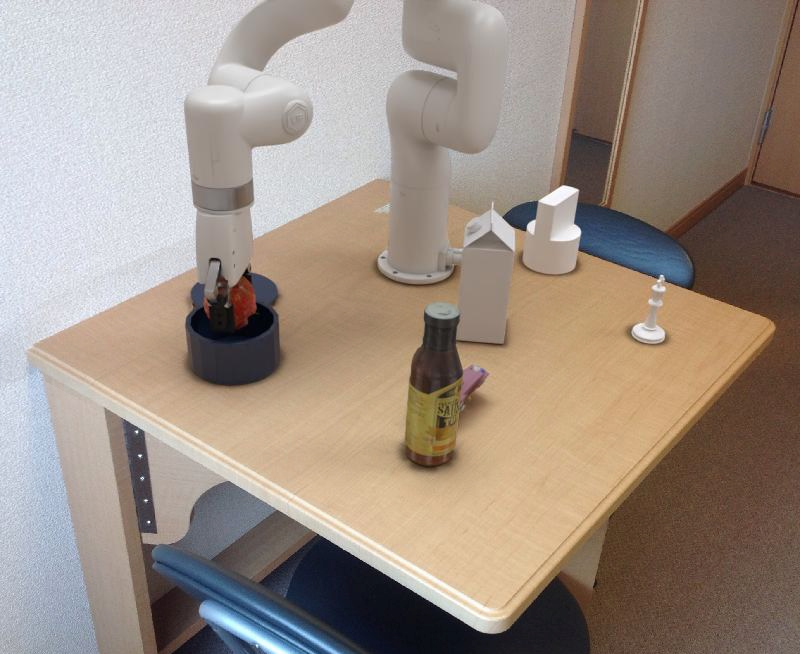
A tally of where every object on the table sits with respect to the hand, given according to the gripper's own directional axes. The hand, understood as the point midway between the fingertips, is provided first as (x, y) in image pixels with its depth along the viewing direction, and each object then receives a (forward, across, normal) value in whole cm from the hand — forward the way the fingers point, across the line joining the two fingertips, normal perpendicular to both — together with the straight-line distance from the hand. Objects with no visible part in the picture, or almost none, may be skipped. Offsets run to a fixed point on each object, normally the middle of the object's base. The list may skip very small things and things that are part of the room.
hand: (232, 314), depth 124 cm
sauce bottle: (+7, +15, +29) cm, 34 cm away
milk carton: (+7, -15, +33) cm, 37 cm away
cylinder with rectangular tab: (+7, -40, +43) cm, 59 cm away
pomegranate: (+2, 0, 0) cm, 2 cm away
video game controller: (+7, +5, +31) cm, 32 cm away
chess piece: (+7, -19, +58) cm, 61 cm away
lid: (+7, -17, -5) cm, 19 cm away
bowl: (+7, 0, 0) cm, 7 cm away
